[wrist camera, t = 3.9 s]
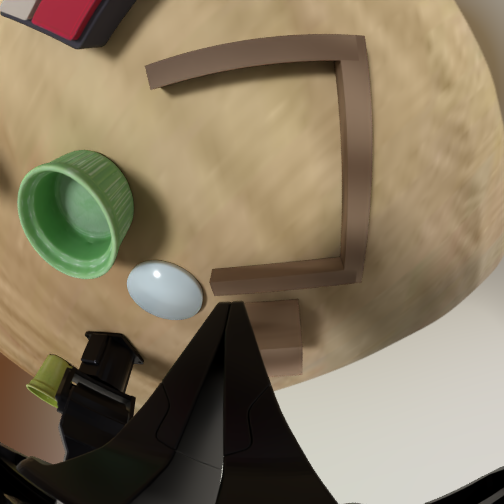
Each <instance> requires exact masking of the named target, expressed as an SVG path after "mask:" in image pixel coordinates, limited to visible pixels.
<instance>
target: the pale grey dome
mask: <svg viewBox="0 0 504 504" xmlns="http://www.w3.org/2000/svg"><path fill="white" fill-rule="evenodd" d="M127 288H128V291H129V294H130V295H131V297H132V299H133V300H134V301H135V302H136V303H137V304H138V305H139V306H140V307H141V308H142V309H144V310H145V311H147V312H149V313H150V314H153V315H155V316H157V317H160V318H164V319H170V320H182V319H187V318H190V317H192V316H194V315H195V314H196V313H197V312H198V311H199V310H200V308H201V305H202V301H203V291H202V288H201V286H200V284H199V283H198V281H197V280H196V279H195V278H194V276H192V275H191V274H190V273H189V272H188V271H186V270H185V269H183V268H181V267H179V266H177V265H175V264H173V263H170V262H166V261H160V260H149V261H145V262H141V263H139V264H138V265H136V266H135V267H134V268H133V269H132V271H131V273H130V275H129V277H128V279H127Z"/></svg>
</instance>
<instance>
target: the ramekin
mask: <svg viewBox="0 0 504 504" xmlns="http://www.w3.org/2000/svg"><path fill="white" fill-rule="evenodd" d="M17 203H18V213H19V218H20V222H21V225H22V228H23V230H24V232H25V234H26V236H27V238H28V240H29V242H30V243H31V245H32V246H33V248H34V249H35V250H36V251H37V253H38V254H39V255H40V256H41V257H42V258H43V259H44V260H45V261H46V262H47V263H49V264H50V265H51V266H52V267H54V268H55V269H57V270H59V271H60V272H62V273H64V274H66V275H69V276H71V277H75V278H80V279H94V278H98V277H100V276H102V275H104V274H105V273H107V272H108V271H109V270H110V268H111V267H112V266H113V264H114V262H115V259H116V257H117V254H118V250H119V246H120V244H121V242H122V240H123V239H124V237H125V235H126V233H127V231H128V229H129V227H130V225H131V222H132V219H133V213H134V204H133V197H132V193H131V190H130V187H129V184H128V182H127V180H126V178H125V177H124V175H123V174H122V172H121V171H120V170H119V168H118V167H117V166H116V165H115V164H114V163H113V162H112V161H110V160H109V159H108V158H106V157H105V156H103V155H101V154H99V153H96V152H93V151H88V150H79V151H73V152H71V153H68V154H66V155H63V156H61V157H59V158H57V159H55V160H53V161H51V162H50V163H46V164H42V165H40V166H37V167H35V168H34V169H32V170H31V171H30V172H29V173H28V174H27V175H26V176H25V177H24V179H23V180H22V182H21V185H20V188H19V192H18V201H17Z"/></svg>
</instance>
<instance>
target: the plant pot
mask: <svg viewBox="0 0 504 504" xmlns="http://www.w3.org/2000/svg"><path fill="white" fill-rule="evenodd" d="M67 367H68V368H73V367H72V366H69V365H68V363H67V362H66V361H65V360H64V359H62V358H60V357H58V356H56V355H48V357H47V358H46V360H45V361H44V363H43V365H42V366H41V368H40V369H39V371H38V373H37V374H36V376H35V377H34V379H32V380H31V382H30V383H29V384H27V385H26V387H27V388H28V389H29V390H30V391H31V392H32V393H33V394H35V395H36V396H38V397H39V398H40V399H42V400H44V401H45V402H47V403H49V404H50V405H52V406H54V407H56V408H58V406H57V401H56V399H55V395H56V392H57V390H58V387H59V385H60V383H61V380H62V378H63V375H64V373H65V370H66V368H67ZM71 383H72V382H71Z"/></svg>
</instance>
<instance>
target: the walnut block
mask: <svg viewBox="0 0 504 504" xmlns="http://www.w3.org/2000/svg"><path fill="white" fill-rule="evenodd" d="M244 304H245V307H246V310H247V313H248V316H249V319H250V322H251V325H252V328H253V332H254V335H255V338H256V341H257V344H258V347H259V350H260V353H261V356H262V359H263V362H264V365H265V368H266V371H267V374H268V377H277V376H293V375H302V335H301V324H300V313H299V303H298V299H292V300H280V301H266V302H252V303H244Z"/></svg>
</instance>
